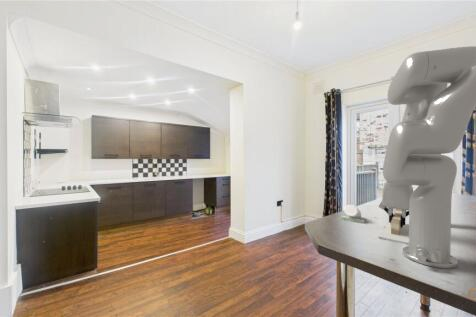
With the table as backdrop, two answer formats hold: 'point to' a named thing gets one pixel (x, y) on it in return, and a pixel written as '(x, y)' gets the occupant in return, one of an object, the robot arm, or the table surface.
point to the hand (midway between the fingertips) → (397, 225)
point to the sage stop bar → (353, 219)
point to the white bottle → (352, 211)
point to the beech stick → (396, 222)
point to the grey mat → (400, 238)
